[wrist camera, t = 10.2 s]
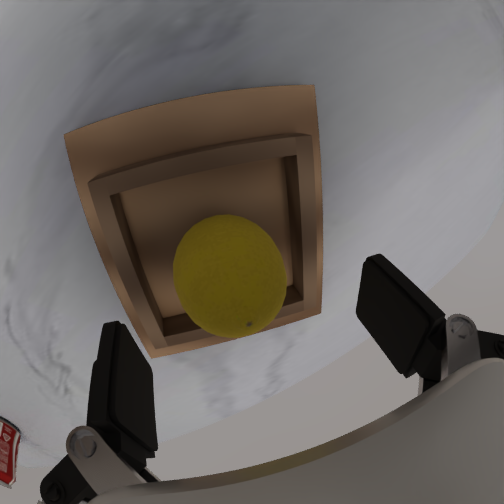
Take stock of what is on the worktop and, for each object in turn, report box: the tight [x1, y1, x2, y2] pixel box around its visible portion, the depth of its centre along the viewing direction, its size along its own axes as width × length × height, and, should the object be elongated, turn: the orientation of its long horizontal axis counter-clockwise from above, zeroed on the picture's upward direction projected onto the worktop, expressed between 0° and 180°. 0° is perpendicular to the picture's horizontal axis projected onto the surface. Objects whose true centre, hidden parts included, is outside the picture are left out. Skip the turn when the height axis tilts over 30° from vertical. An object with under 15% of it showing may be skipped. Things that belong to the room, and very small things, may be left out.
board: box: [64, 85, 323, 358], centre depth 17 cm, size 18×15×4 cm
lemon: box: [173, 214, 287, 338], centre depth 14 cm, size 6×6×8 cm
